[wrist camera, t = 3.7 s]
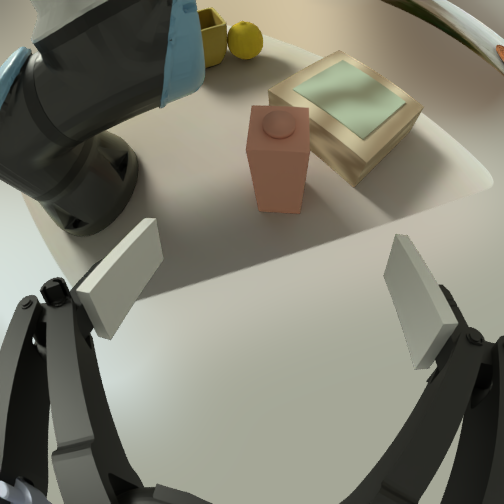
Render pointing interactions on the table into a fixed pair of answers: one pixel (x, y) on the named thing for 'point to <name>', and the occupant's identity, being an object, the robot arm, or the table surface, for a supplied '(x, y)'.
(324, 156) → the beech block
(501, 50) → the ring
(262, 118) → the pink knobbed block
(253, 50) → the lemon
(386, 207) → the table surface
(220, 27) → the flower pot
